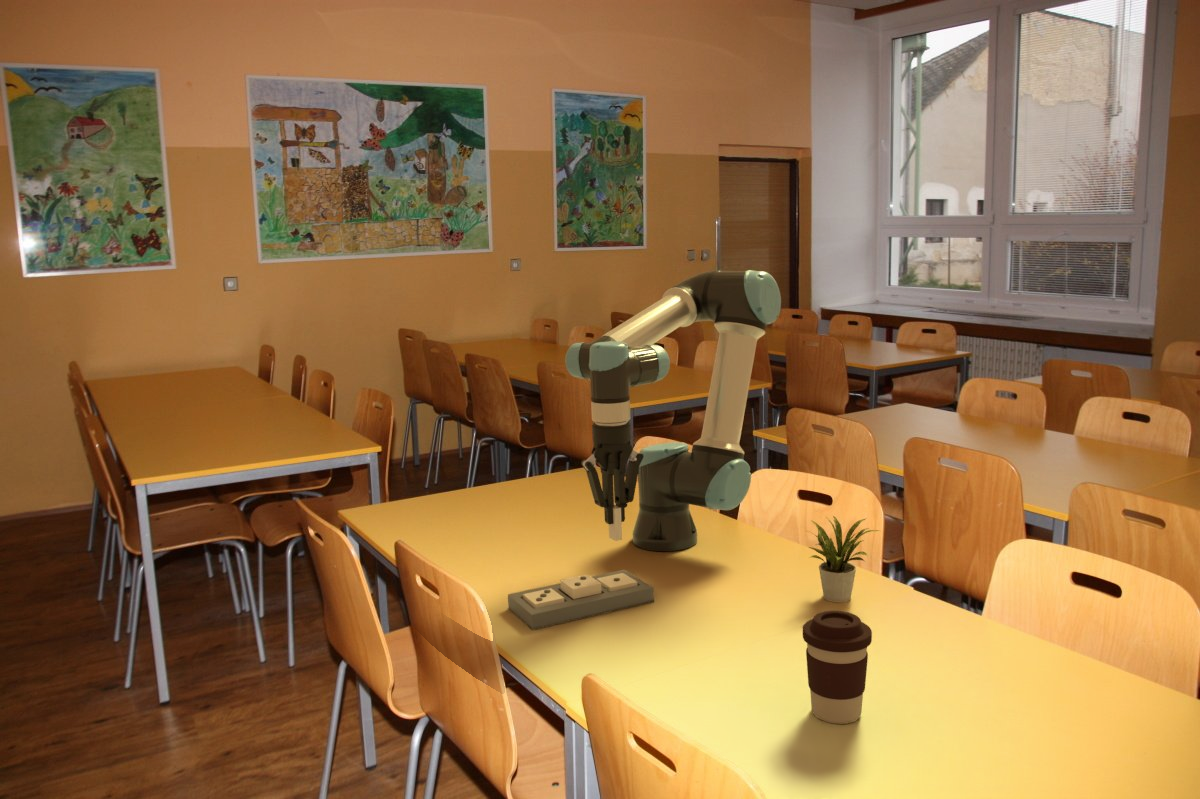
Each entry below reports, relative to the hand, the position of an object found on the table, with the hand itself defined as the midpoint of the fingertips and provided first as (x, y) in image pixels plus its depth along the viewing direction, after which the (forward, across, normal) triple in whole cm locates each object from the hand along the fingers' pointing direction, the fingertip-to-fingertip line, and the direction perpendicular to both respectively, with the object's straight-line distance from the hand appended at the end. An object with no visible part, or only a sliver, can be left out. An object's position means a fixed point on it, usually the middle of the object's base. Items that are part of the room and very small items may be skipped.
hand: (615, 538), depth 193 cm
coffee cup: (+12, -6, +59) cm, 60 cm away
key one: (+11, 0, 0) cm, 11 cm away
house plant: (+13, -38, +24) cm, 46 cm away
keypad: (+12, +8, 0) cm, 15 cm away
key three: (+11, +16, 0) cm, 19 cm away
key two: (+9, +8, 0) cm, 12 cm away
